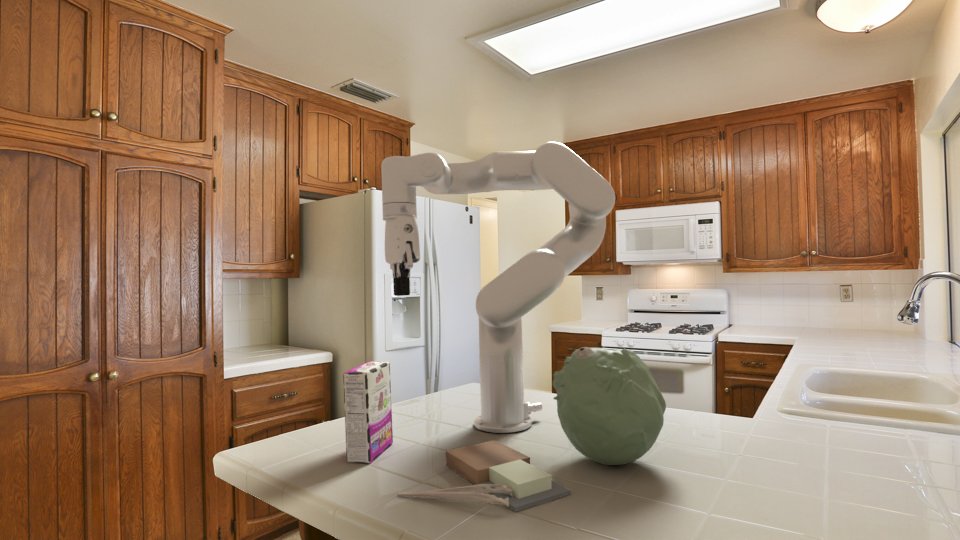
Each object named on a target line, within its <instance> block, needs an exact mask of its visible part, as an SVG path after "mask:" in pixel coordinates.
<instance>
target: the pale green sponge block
mask: <svg viewBox="0 0 960 540" xmlns="http://www.w3.org/2000/svg"><path fill="white" fill-rule="evenodd" d="M489 480H490V481H491V482H493V483H495V484H500V485H505V486H509V488H511V489H512V490H513V492H512V494H513V495H514V496H515V497H517V498H518V499H520V498H523V497H526V496H529V495H533V494H536V493H539V492H543V491H546V490H549V489H552V483H551V480H552V475H551V474H550V473H548V472H545V471H544V470H541V468H538V467H536V466H534V465H532V464H531V463H530V464H528V463H526V462H524V461H522V460H516V461H512V462H508V463H504V464H500V465H496V466H493V467H489Z"/></svg>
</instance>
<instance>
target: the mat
mask: <svg viewBox="0 0 960 540" xmlns="http://www.w3.org/2000/svg"><path fill="white" fill-rule="evenodd" d="M551 483H552V489H549V490H546V491H543V492H539V493H536V494H533V495H529V496H526V497H523V498H520V499H518V498H517V497H515V496H514V495H513V497H512V496H510V495H509V494H505V493H487V494H489V495H495V496H496V497H498V498H502V499H506V498H507V497H508V498H509V499H508V502H509V506H508V507H507V508H509V509H510V510H511V511H513V512H514V513H517V512H520V511H523V510H526V509H529V508H532V507H535V506H538V505H541V504H544V503H548V502H552V501H553V500H558V499H560V498H563V497H566V496H569V495H571V494H572V493H571V492H572V491H571V489H569V488H568V487H566V486H564V485H561V484H560V483H558V482H556V481H554V480H552V479H551ZM480 484H495V483H493V482H491V481H488V482H484V483H480ZM491 488H492V489H495V488H496V487H491ZM483 489H485V488H484V487H483Z"/></svg>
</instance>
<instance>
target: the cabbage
mask: <svg viewBox="0 0 960 540" xmlns="http://www.w3.org/2000/svg"><path fill="white" fill-rule="evenodd" d="M563 365H564V366H562V367H561V370H558V371H556V370H555V371H554V374H553V380H552V387H553V388H554V389H555V391H556V396H554V397H553V400H555V401H556V405H557V406H556V407H557V408H556V409H557V410H556V412H557V416H558V420H559V423H560V427H561V429H562V430H563V432H564V434H565V435H566V437H567V439H568V441H569V442H570V443H571V445H572V447H574V449H576V451H578V452H579V453H580V454H582V455H583V456H584V457H586V458H587V459H589V460H591V461H593V462H596V463H599V464H600V465H606V466H617V465H618V466H619V465H621V466H622V465H626V464H629V463H632V462H635V461H637V460H639V459H640V458H642V457H643V456H645V454H646V453H648V452H649V451H650V450H651V448H652V447H653V446H654V444H655V443H656V441H657V439H658V437H659V435H660V434H661V433H660V432H661V430H662V429H663V427H664V421H665V420H664V419H665V418H664V417H665V416H664V414H665V413H666V409H667V404H666V403H667V402H666V401H665V398H664V396H663V394H662V392H661V389H659V387H658V385H657V382H656V380H655V378H654V376H653V374H652V372H651V370H650V368H649V366H648V365H647V364H646V363H645V362H644V361H643V360H642V358H640V356H639V355H637V353H636V352H635V351H631V350H628V349H626V348H622V349H616V350H613V349H607V348H602V347H587V346H582V347H580V348H578V349H576V350H574V351H573V352H572V353H571V355H570V356H565V358H564V361H563Z"/></svg>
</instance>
